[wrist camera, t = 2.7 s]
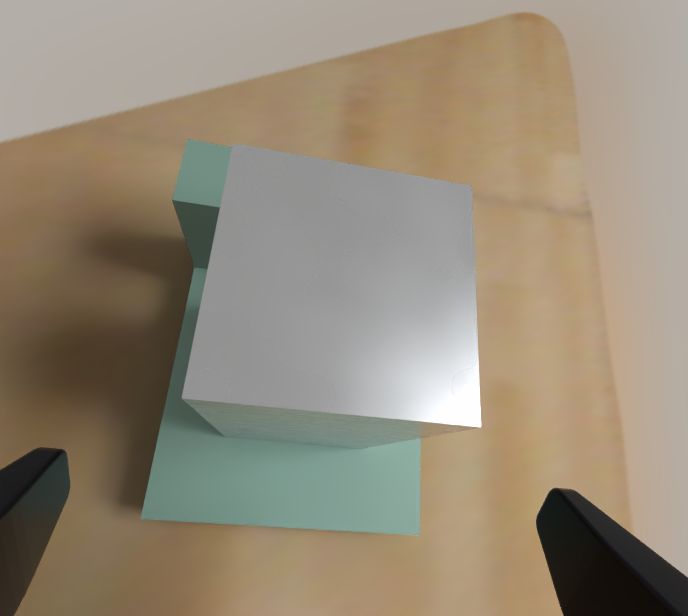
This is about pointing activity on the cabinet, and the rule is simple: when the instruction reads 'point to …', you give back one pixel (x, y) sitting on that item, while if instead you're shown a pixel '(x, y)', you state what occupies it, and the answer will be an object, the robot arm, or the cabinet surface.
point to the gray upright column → (336, 305)
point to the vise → (256, 455)
